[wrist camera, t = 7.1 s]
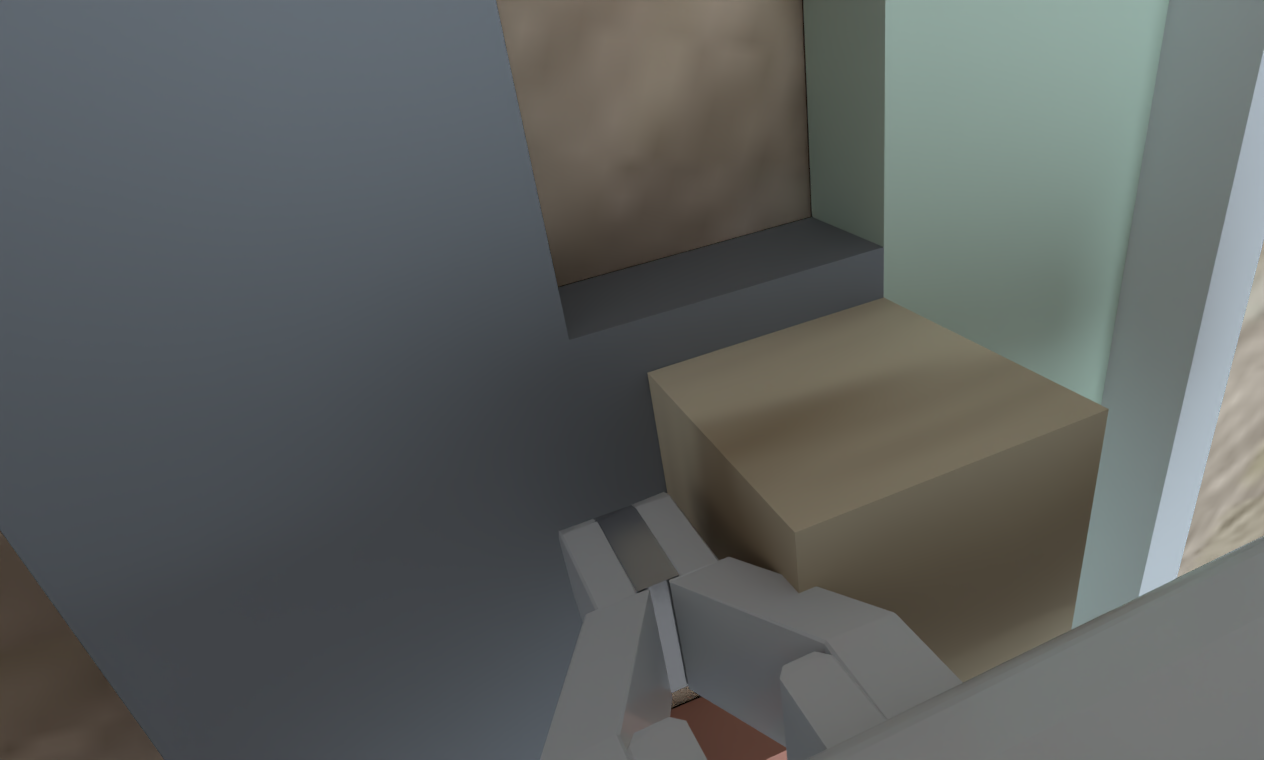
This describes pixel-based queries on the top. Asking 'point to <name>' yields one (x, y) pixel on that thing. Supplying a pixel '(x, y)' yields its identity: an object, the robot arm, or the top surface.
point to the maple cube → (891, 474)
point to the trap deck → (537, 327)
